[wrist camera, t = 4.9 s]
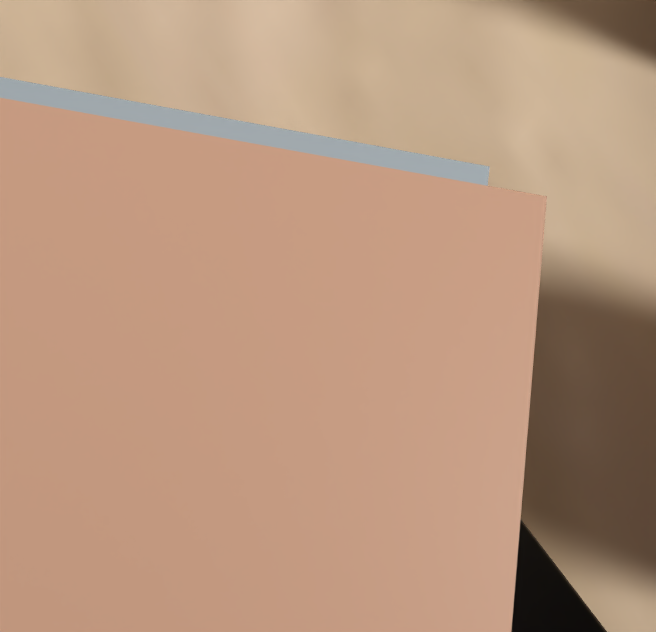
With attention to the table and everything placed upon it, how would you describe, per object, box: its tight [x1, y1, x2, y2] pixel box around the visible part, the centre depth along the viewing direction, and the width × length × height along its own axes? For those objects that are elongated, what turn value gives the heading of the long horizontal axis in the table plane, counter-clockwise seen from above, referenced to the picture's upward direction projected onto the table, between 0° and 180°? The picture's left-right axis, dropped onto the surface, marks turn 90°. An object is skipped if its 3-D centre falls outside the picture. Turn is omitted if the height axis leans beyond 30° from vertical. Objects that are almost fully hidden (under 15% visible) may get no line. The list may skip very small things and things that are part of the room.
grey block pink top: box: [0, 77, 547, 632], centre depth 8 cm, size 9×6×12 cm, turn 172°
